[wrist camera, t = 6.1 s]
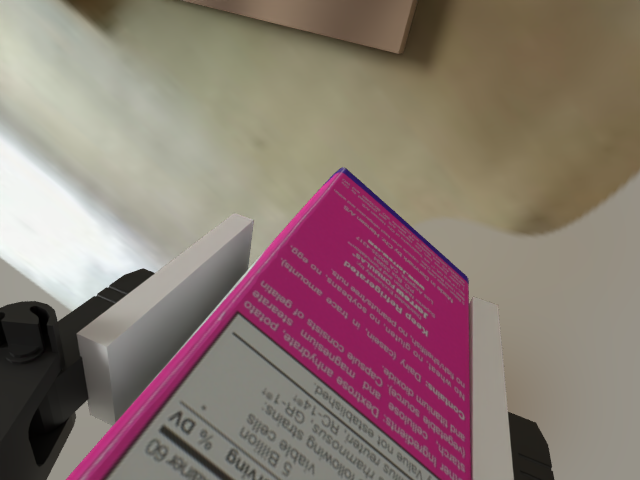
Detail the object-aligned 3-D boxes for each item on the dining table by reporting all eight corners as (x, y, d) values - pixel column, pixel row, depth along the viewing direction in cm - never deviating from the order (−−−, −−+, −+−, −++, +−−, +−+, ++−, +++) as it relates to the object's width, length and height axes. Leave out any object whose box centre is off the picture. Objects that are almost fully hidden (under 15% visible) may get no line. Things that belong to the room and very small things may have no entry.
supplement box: (366, 359, 16) (210, 831, 7) (255, 263, 16) (-76, 615, 6) (479, 280, 13) (493, 954, 4) (345, 158, 13) (-41, 541, 3)
